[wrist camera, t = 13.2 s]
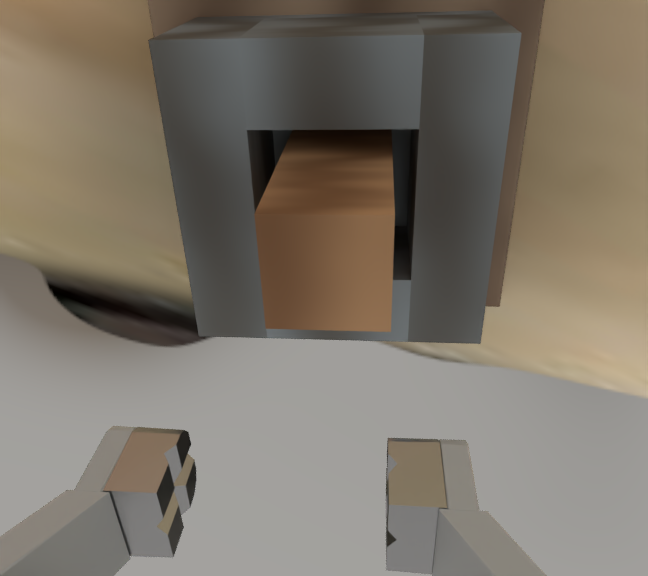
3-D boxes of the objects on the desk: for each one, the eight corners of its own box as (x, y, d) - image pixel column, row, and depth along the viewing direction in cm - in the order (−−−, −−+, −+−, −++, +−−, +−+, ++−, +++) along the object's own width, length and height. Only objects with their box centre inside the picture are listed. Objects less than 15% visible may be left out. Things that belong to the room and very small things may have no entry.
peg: (391, 118, 25) (395, 215, 17) (388, 205, 27) (390, 332, 19) (297, 118, 25) (254, 214, 17) (302, 204, 27) (265, 328, 19)
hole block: (545, -50, 23) (601, -43, 17) (496, 296, 31) (522, 382, 25) (150, -38, 25) (75, -27, 19) (202, 290, 33) (162, 370, 27)
